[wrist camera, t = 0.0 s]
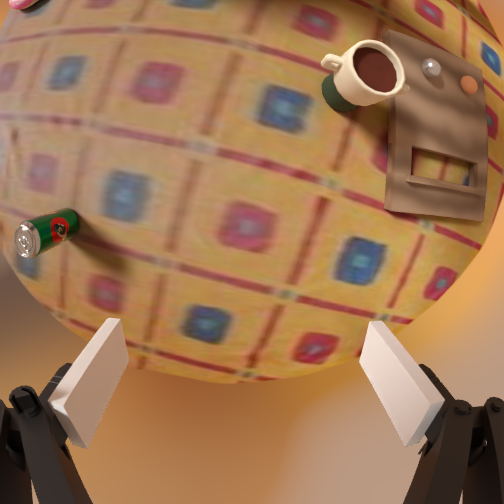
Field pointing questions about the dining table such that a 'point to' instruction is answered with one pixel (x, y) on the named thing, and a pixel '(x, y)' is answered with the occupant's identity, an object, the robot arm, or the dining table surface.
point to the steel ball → (431, 68)
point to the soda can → (45, 232)
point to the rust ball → (469, 84)
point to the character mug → (363, 76)
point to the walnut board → (435, 133)
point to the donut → (21, 3)
